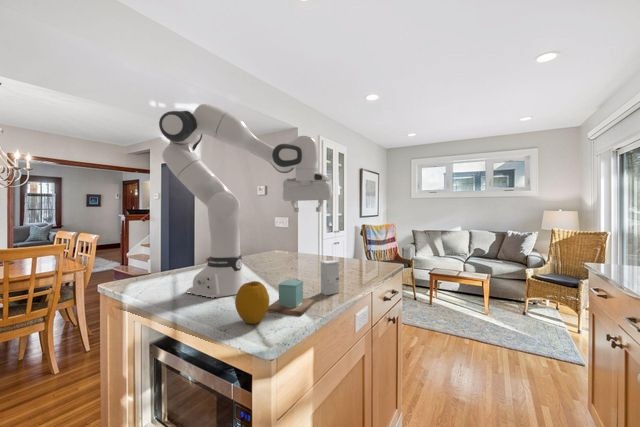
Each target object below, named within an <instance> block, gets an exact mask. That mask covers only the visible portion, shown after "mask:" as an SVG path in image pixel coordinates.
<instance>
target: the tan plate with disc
mask: <svg viewBox="0 0 640 427" xmlns="http://www.w3.org/2000/svg"><path fill="white" fill-rule="evenodd" d="M314 304H315V299H309V298H303V302H301V303H300V304H299V305H298V306H297V307H290V306H280V305H279V298H278V299H277V300H275V301H274V302H272V303H271V304H269V308H268V310H267V313H272V314H283V315H291V316H292V315H294V316H304V314H305V313H306V312H307V311H308V310H309V309H310V308H311V307H312V306H313V305H314Z"/></svg>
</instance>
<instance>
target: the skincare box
mask: <svg viewBox="0 0 640 427" xmlns="http://www.w3.org/2000/svg"><path fill="white" fill-rule="evenodd" d="M339 265H340V263H339V261H338V260H333V259H331V260H324V261H323V260H322V261H320V293H321V294H322V295H324V296H329V295H335V294H339V293H340V266H339Z"/></svg>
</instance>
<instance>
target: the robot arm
mask: <svg viewBox="0 0 640 427" xmlns="http://www.w3.org/2000/svg"><path fill="white" fill-rule="evenodd" d="M158 126H159V130H160V132H161V134H162V136H164V137H165V138H166V139H167V140H169V144H168V146H166V147H165V148H164V150H163V151H162V156H161V157H162V159H163V161H164V163H165V164H166V166H167V167H168V169H169V170H170V171H171V173H172V174H173V175H174V176H175V178H176V179H178V180H179V181H180V183H182V184H183V185H184V187H186V189H187V190H188V191H189V192H190V193H191V194H192V195H193V196H194V197H196V198H197V199H198V200H199V201H200V202H202V203H203V205H205V206H206V208H207V217H208V218H207V220H208V226H209V233H210V256H209V257H207V258H206V259H205V260H204V261H205V262H207V264H206V266H205V267H204V268H202V270H200V271H199V272H198V273H197V274H196V275H194V277H193V280H192V286H191V287H189V288H187V290H186V291H185V293H186V292H190V293H193V294H197V295H202V296H206V297H205V298H207V297H211V298H210V299H215V298H214V297H216V298H221V297H227V296H234V295H237V292H238V290H239V289H240V287H241V286H242V285H243V284H244V279H243V273H242V266H243V263H242V261H243V260H242V254H241V230H240V218H239V214H240V211H241V208H242V206H241V202H240V200H239V199H238V197H237V196H235V194H234V193H233V192H232V191H231V190H230V189H229V188H228V187H227V186H226V185H225V184H224V183H223V181H221V179H219V178H218V176H216V174H214V172H213V171H212V170H211V169H210V168H209V167H208V166H207V165H206V163H204V161H202V159H201V158H199V157H198V155H197V154H196V153H195V150H196V148H197V147H198V145H199V144H200V143H201V141H202V139H203V135H207V136H210V137H212V138H214V139H216V140H217V141H220V142H222V143H224V144H227V145H231V146H234V147H236V148H239V149H241V150H242V149H243V150H245V151H247V152H249V153H251V154H254V155H255V156H257V157H259V158H261V159H263V160H265V161H267V162H268V163H269V164H270V165H271V166H272V167H273V168H274V170H276V171H277V172H278V173H281V174H288V173H290V172H292V171H293V170H294V169H295V177H293V178H290V177H289V178H288V177H287V178H286V179H284V180H283V182H282V188H283V190H282V199H283V201H284V202H290V204H291V206H292V207H293V212H294V213H299V211H300V208H299V207H298V206H297V201H298V202H299V201H317V202H318V206H317V207H315V212H316V213H317V212H318V213H320V212H322V211H321V210H322V206H323V204H324V201H331V199H332V198H333V192H332V191H333V190H332V185H331V183H330V177H329V176H327V175H325V174H322V173H320V172H319V171H318V170H319V169H318V166H317V163H318V146H317V143H316V140H315V139H314V138H312V137H311V136H308V135H299V136H297V137H296V138H295V139H293V140H290V141H289V142H284V143H280V144H277V145H276V146H275V147H274V146H272V145H270V144H268V143H266V142H264V141H262V140H261V139H259V137H258V138H257V136H256V135H255V134H253V133H252V132H251V130H250V129H249V127H248V126H247V124H246V123H245V122H244V121H242V119H240V118H238V117H237V116H236V115H234V114H233V113H230V112H228V111H226V110H224V109H222V108H219V107H218V106H213V105H210V104H207V103H201V104H199V105H198V106H197V107H196V108H195V109H194V111H193V113H192V112H191V111H189V110H180V111H179V110H172V111H167V112H166V113H165V112H164V113H163V114H162V115H161V117H160V118H159V122H158ZM318 172H319V173H318ZM197 295H196V296H197ZM202 296H201V297H202Z"/></svg>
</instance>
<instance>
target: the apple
mask: <svg viewBox="0 0 640 427" xmlns="http://www.w3.org/2000/svg"><path fill="white" fill-rule="evenodd" d="M235 295H236V296H235V300H234V304H235V309H236V313H237V315H238V316H239V317H240V319H241V320H242V321H244V322H245V323H246V324H249V325H255V324H258V323H260V322H261V321H263V319H264V318H265V316H266V314H267V313H268V312H267V310H268V308H269V306H270V295H269V293H268V290H267V287H266V286H265V285H264V284H263V283H262V282H260V281H256V280H255V281H249V282H246V283H243V285H242V286H241V287H240V289H239V290H238V292H237V294H235Z"/></svg>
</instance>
